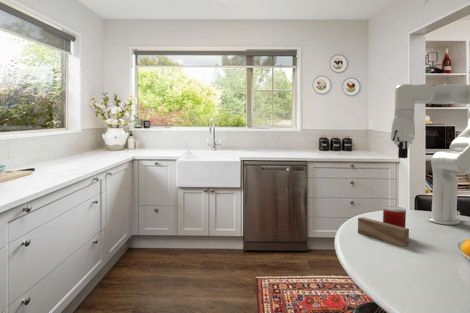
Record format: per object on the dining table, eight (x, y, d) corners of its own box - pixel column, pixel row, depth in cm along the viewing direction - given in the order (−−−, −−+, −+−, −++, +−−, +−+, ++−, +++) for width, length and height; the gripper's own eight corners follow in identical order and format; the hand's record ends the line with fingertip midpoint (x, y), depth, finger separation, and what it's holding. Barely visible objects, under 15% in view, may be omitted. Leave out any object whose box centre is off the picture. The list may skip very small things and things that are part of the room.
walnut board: (362, 231, 146) (363, 217, 146) (408, 245, 129) (409, 228, 129) (357, 232, 145) (358, 218, 144) (403, 246, 128) (403, 230, 127)
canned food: (407, 239, 136) (408, 210, 135) (384, 238, 138) (385, 209, 137) (402, 233, 143) (403, 206, 143) (381, 232, 145) (381, 205, 144)
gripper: (407, 114, 159) (405, 156, 160) (385, 114, 151) (383, 158, 153) (423, 114, 152) (421, 157, 154) (401, 113, 145) (399, 159, 146)
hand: (402, 157), depth 153 cm, fingers closed
